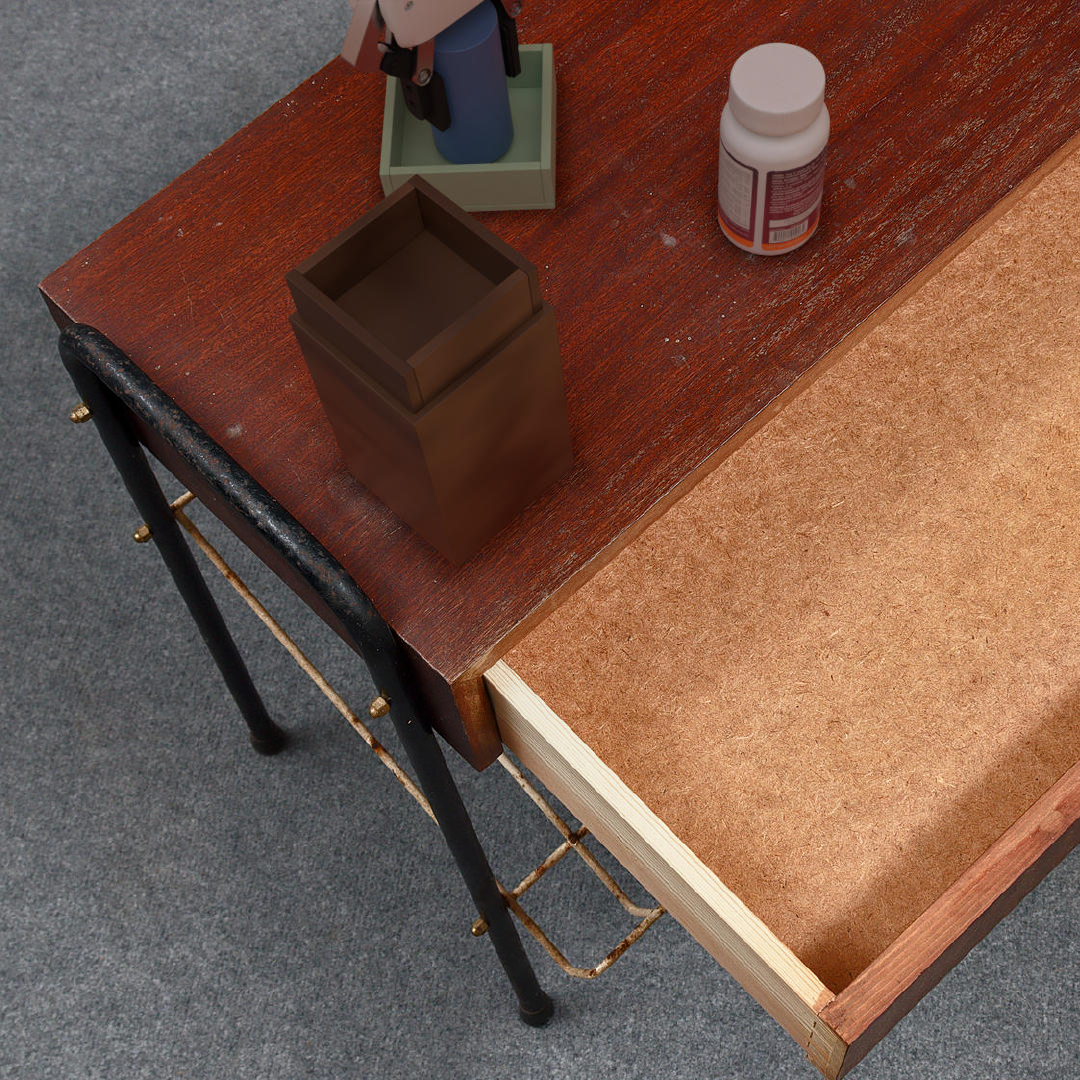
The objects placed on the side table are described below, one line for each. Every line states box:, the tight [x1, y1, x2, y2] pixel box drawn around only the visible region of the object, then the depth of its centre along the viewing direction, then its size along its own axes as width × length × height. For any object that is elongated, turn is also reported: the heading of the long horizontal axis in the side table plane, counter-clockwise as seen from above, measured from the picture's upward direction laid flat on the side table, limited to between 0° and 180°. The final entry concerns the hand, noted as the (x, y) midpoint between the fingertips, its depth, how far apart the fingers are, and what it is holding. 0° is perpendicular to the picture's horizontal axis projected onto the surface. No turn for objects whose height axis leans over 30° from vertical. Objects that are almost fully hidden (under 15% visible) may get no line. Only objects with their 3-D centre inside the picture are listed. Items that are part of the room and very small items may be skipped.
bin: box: [378, 42, 558, 213], centre depth 90 cm, size 10×10×4 cm
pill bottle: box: [717, 42, 831, 256], centre depth 83 cm, size 6×6×11 cm
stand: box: [284, 174, 575, 569], centre depth 74 cm, size 9×9×17 cm
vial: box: [431, 0, 514, 165], centre depth 86 cm, size 5×5×9 cm
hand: (465, 88), depth 87 cm, fingers closed on vial, 5 cm apart
